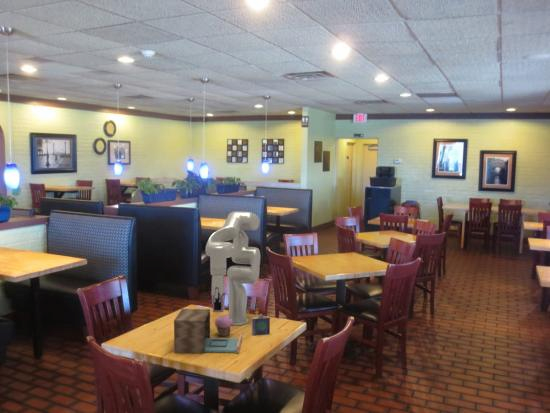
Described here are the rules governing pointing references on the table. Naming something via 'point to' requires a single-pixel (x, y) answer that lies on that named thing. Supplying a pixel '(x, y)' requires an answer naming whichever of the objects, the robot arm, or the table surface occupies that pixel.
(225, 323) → the cupcake
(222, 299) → the block
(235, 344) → the tray
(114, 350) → the table surface
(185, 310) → the cabinet
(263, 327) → the flask
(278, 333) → the table surface
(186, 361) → the table surface
